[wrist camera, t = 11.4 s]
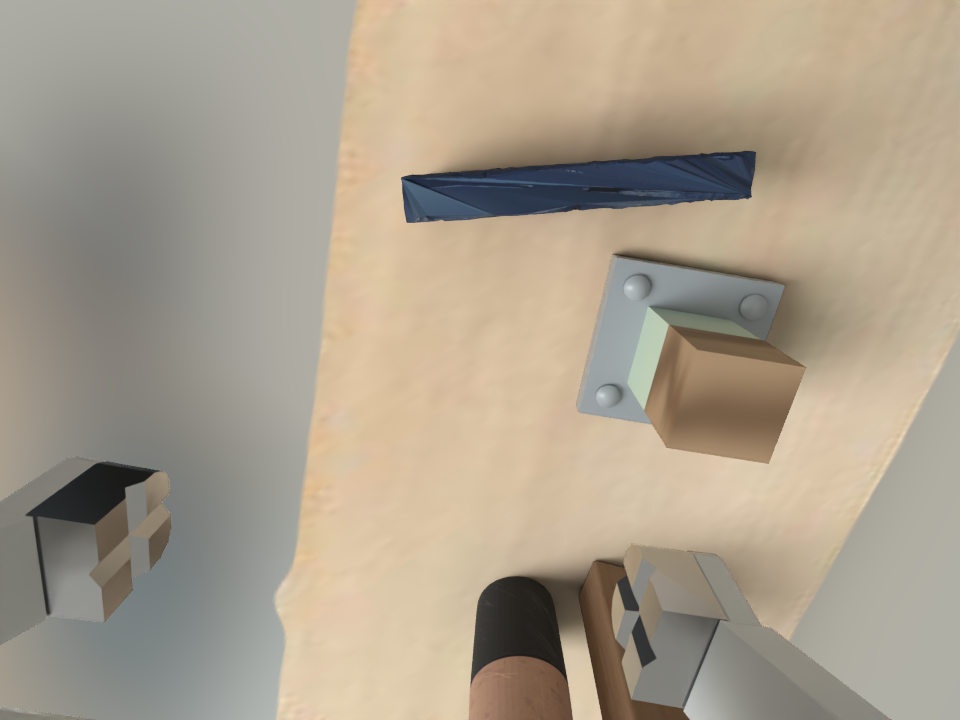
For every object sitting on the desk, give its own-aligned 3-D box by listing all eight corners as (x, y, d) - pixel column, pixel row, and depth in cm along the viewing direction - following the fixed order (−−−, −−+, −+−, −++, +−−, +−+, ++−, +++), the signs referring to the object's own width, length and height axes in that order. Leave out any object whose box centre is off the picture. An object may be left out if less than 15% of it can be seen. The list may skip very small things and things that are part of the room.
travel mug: (556, 572, 48) (595, 832, 29) (557, 637, 50) (594, 915, 32) (471, 575, 48) (455, 833, 29) (477, 639, 51) (466, 916, 32)
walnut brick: (668, 324, 33) (697, 349, 29) (762, 339, 33) (806, 367, 29) (643, 410, 35) (666, 447, 31) (732, 424, 35) (768, 463, 31)
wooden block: (688, 581, 48) (794, 806, 31) (669, 618, 49) (760, 853, 32) (593, 558, 47) (647, 774, 30) (576, 596, 49) (619, 823, 32)
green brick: (648, 306, 38) (669, 325, 33) (730, 319, 38) (763, 340, 33) (627, 383, 40) (644, 411, 35) (704, 395, 40) (732, 425, 35)
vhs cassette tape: (691, 155, 36) (760, 150, 27) (688, 201, 37) (753, 211, 28) (422, 168, 37) (397, 167, 27) (425, 212, 38) (402, 226, 28)
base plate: (612, 254, 38) (618, 258, 37) (774, 281, 39) (788, 287, 37) (576, 404, 42) (579, 414, 41) (723, 428, 43) (733, 439, 41)
